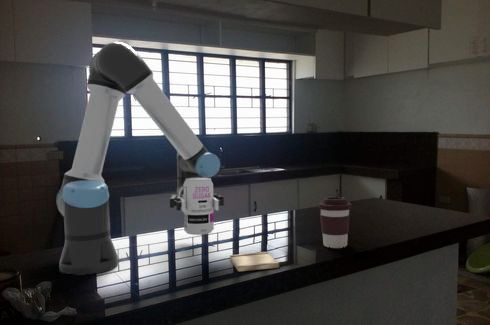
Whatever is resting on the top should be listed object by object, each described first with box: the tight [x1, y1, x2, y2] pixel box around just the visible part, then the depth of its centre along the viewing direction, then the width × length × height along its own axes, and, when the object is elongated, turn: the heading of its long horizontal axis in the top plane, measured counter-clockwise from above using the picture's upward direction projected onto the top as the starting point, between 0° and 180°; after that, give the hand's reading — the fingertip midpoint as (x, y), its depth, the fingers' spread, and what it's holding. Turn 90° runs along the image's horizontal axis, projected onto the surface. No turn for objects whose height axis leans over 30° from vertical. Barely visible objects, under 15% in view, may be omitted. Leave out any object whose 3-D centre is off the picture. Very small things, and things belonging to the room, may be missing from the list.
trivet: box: [229, 251, 280, 272], centre depth 114 cm, size 11×11×1 cm
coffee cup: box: [318, 196, 352, 249], centre depth 130 cm, size 10×10×15 cm
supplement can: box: [183, 177, 215, 236], centre depth 116 cm, size 8×8×15 cm
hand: (200, 206), depth 111 cm, fingers closed on supplement can, 8 cm apart
